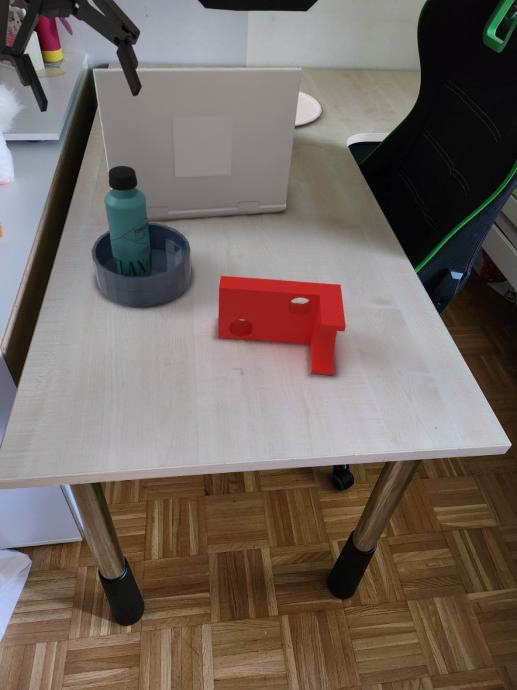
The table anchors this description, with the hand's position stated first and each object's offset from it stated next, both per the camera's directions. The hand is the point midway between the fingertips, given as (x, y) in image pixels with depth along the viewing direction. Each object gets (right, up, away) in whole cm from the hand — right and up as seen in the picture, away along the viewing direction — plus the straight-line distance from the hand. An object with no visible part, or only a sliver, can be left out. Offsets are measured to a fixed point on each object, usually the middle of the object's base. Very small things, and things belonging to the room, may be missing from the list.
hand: (93, 99), depth 73 cm
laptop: (+9, 0, +42) cm, 43 cm away
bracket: (+26, -35, +9) cm, 45 cm away
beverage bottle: (+2, -23, +17) cm, 29 cm away
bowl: (+3, -23, +19) cm, 29 cm away
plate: (+27, +33, +75) cm, 87 cm away
